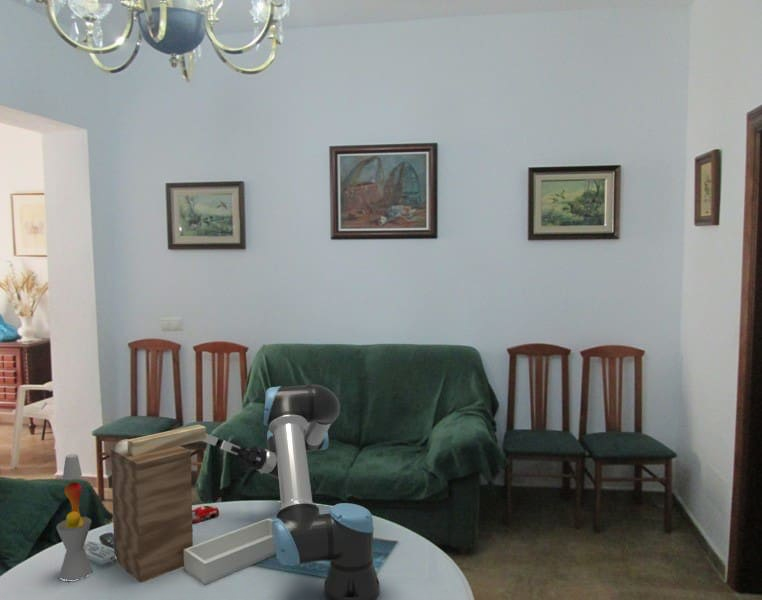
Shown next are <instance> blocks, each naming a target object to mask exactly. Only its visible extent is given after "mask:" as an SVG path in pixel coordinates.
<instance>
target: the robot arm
mask: <svg viewBox="0 0 762 600" xmlns="http://www.w3.org/2000/svg"><path fill="white" fill-rule="evenodd" d="M265 391H266V392H265V401H264V411H263V412H264V415H263V425H264V426H266V427H268V429H267V433H266V443H267V444H266V445H267V449H266V448H263V447H262V446H259V445H252V446H251V447H250V448H248V447H247V446H244V445H240V444H234V443H232V442H229V441H227V440H225V439H224V440H222V439H220V438H219V437H216V436H214V435H211V434H209V433H207V432H206V440H202V442H203V443H207V444H209V445H212V446H211V447H212V448H215V447H218V448H220V449H221V450H223V451H224V452H225V451H226V452H228V453H231V454H232V455H234V456H237V457H238V458H239V459H241V460H244V464H245V466H246V467H248V468H250V469H253V470H256V471H258V472H259V474H261V475H263V474H266V475H268V476H271V477H273V478H276V479H277V480H278V482H279V483H278V485H279V486H278V488H279V497H280V509H278V511H277V512H276V518H275V519H272V520H273V521H272V535H273V543H274V548H275V552H276V558H277V560H278V562H279V563H280V564H281V565H283V566H291V565H293V566H294V565H295V566H299V565H301V564H308V563H317V562H324V561H330V563H329V568H328V570H327V576H326V579H325V580H324V582H323V583H324V584H323V595H324V598H325V599H326V600H376V599H377V598H378V597H379V595H380V580H379V578H378V575H377V572H376V571H377V570H376V569H375V566H374V565H375V564H374V530H375V529H374V522H373V521H374V519H373V514H372V513H371V512H370V510H369V509H367V508H366V507H364V506H362V505H359V504H356V503H355V504H354V503H347V502H345V503H344V502H343V503H341V502H340V503H337V504H335V505H334V504H333V505H332V506H331V507H330V509H329V511H328V513H320V507H319V506H318V505H317V503H314V502H313V496H312V490H311V489H312V488H311V481H310V479H311V478H310V473H309V472H310V471H309V465H308V457H307V452H312V451H315V452H316V451H318V452H319V451H323V450H327V449H328V447H329V442H330V441H329V433H328V431H329V430H330V427H331V425H332V424H333V423H334V422H335V421H336V420H337V419H338V416H339V415H340V409H341V404H340V401H339V399H338V397H337V395H336V394H335V393H334V392H333V391H331V390H330V389H328V388H327V387H326V386H323V385H320V384H307V385H306V384H304V385H290V386H281V385H279V386H272V387H269V388H267V390H265Z"/></svg>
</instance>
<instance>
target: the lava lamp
mask: <svg viewBox="0 0 762 600" xmlns="http://www.w3.org/2000/svg"><path fill="white" fill-rule="evenodd" d="M64 459H65V460H64V467H63V472H62V473H63V474H62V479H64V480H73V479H74V480H75V479H79V478H80V477H81V478H82V475H83V473H82V470H81V469H82V468H81V464H80V459H79V455H78V454H76V453H70V454H67V455H66V456H65V458H64ZM64 494H65V496H66V497H67V499H68V500H69V502H70V505H71V511H70V512H69V513H68V514H67V515H66V517H65V518H66V519H64V520H62V521H59V523H57V525H56V526H55V527H56V530H57V533H58V535H59V537H60V539H61V542H62V543H63V545H64V547H65V548H64V549H65V550H66V552H65V554H64V558H63V562H62V565H61V569H60V572H59V575H60V578H62V579H65V580H66V579H67V580H76V579H81V578H83V577H86V576H87V575H89V574H90V573H91V571H92V572H93V568H92V565H91V563H90V560H89V558H88V555H87V553H86V551H85V548H84V546H85V543H86V539H87V536H88V535H89V531H90V528H91V525H92V519H91V518H90V517H88V516H81V513H80V499H81V494H82V485H81V484H79V482H75V481H74V482H69V483H68V484H67V485H66V486H65V488H64ZM91 574H92V573H91ZM91 574H90V575H91ZM90 575H89V576H90ZM86 578H87V577H86ZM81 580H82V579H81Z"/></svg>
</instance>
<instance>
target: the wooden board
mask: <svg viewBox="0 0 762 600" xmlns="http://www.w3.org/2000/svg"><path fill="white" fill-rule="evenodd" d="M206 433H207V427H206V426H204V425H202V424H194V425H191V426H190V425H189V426H187V427H186V426H185V427H182V428H177V429H171V430H168V431H164V432H158V433H154V434H148V435H144V436H141V437H136V438H135V437H134V438H131V439H128V440H127V444H128V454H130V455H132V456H138V455H142V454H147V453H151V452H155V451H159V450H163V449H168V448H172V447H176V446H185V445H189V444H193V443H197V442H200V441H202V440H206ZM202 442H203V441H202Z"/></svg>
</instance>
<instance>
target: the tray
mask: <svg viewBox="0 0 762 600" xmlns="http://www.w3.org/2000/svg"><path fill="white" fill-rule="evenodd" d="M273 520H274V519H272V518H270V517H268V518H266V519H263V520H260V521H257V522H255V523H251V524H249V525H245V526H243V527H240V528H238V529H234V530H233V531H230V532H227V533H225V534H222V535H219V536H217V537H214V538H211V539H209V540H205V541H203V542H200V543H197V544H195V545H194V544H193V546H192V547H189V548H186V549H184V566H183V569H184V571H186V572H187V573H188V574H190V575H191V576H193V577H194V578H195V579H197V580H198V581H199V582H200V583H202V584H203V585H208V584H210V583H213V582H214V581H218V580H219V579H223V578H225V577H226V576H228V575H229V576H230V575H231V574H234V573H236V572H238V571H241V570H243V569H246V568H248V567H251V566H253V565H256V564H257V563H259V562H262V561H264V560H267V559H268V557H269V558H272V557H274V556H275V554H276V552H275V548H274V543H273V535H272V521H273ZM273 555H274V556H273ZM266 558H267V559H266Z"/></svg>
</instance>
